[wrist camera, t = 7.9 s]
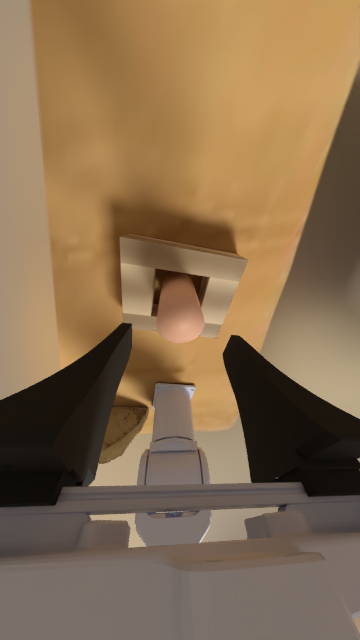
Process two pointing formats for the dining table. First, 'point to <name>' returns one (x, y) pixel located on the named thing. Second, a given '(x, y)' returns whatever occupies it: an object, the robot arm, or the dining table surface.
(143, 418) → the rock
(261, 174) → the dining table surface
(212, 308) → the socket block
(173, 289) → the peg
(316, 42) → the dining table surface
